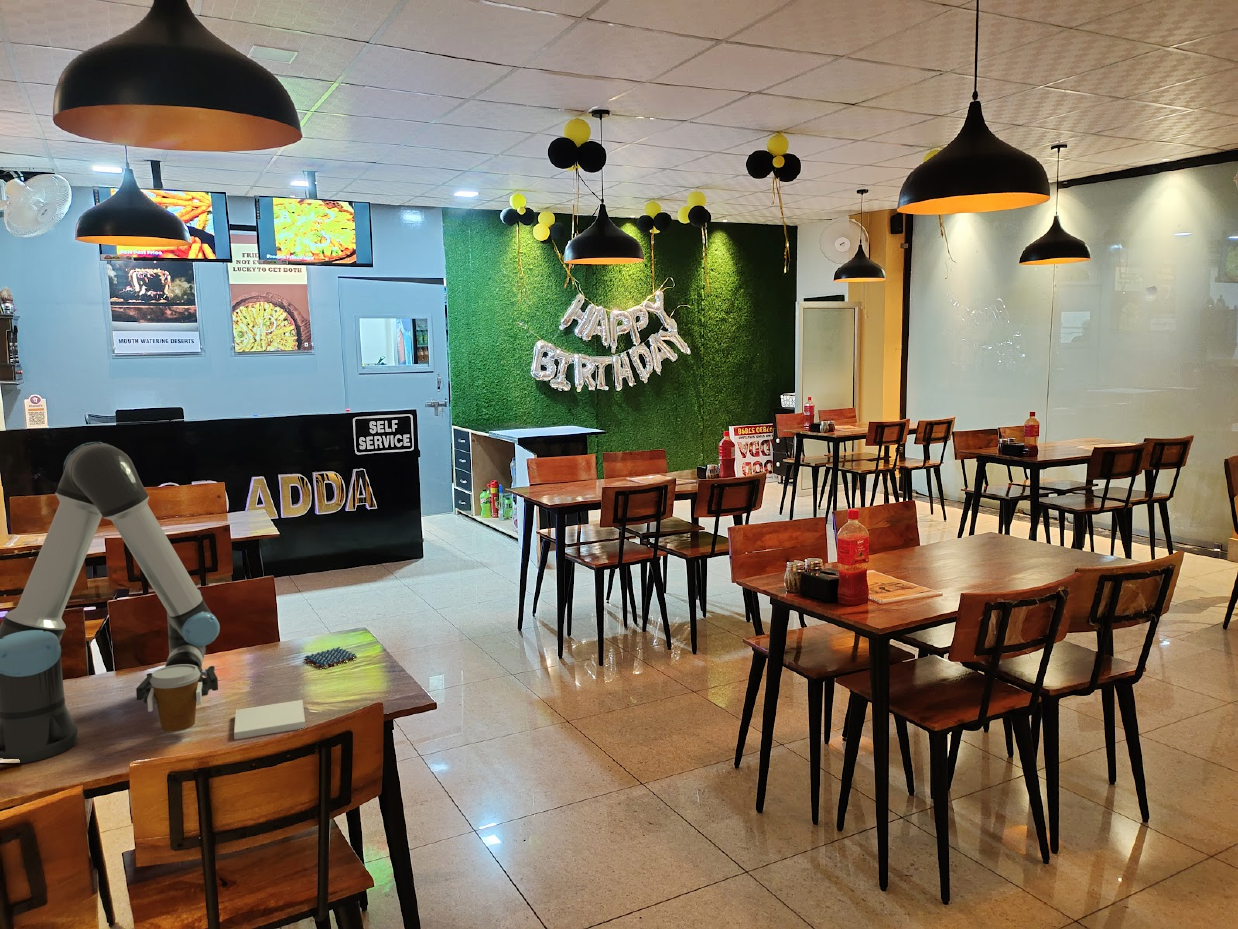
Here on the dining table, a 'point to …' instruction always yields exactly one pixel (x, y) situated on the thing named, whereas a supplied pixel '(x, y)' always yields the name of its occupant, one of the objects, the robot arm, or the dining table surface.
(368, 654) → the dining table surface
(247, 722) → the pad
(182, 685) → the disposable coffee cup
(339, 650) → the woven mat
